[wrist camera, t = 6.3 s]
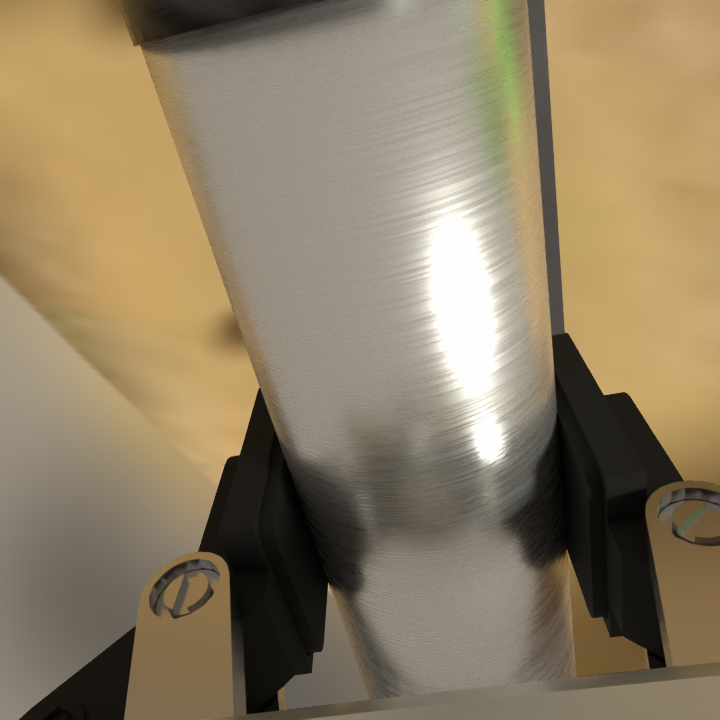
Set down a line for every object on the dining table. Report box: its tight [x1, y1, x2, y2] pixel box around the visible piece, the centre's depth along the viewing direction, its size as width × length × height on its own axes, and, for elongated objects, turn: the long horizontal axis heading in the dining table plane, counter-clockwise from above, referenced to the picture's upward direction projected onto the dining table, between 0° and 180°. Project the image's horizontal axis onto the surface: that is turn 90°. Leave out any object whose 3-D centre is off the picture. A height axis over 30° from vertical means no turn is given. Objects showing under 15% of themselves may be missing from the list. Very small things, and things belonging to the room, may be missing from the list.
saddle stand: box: [527, 0, 565, 335], centre depth 19 cm, size 12×28×10 cm, turn 12°
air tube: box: [118, 0, 576, 700], centre depth 11 cm, size 20×4×4 cm, turn 12°
